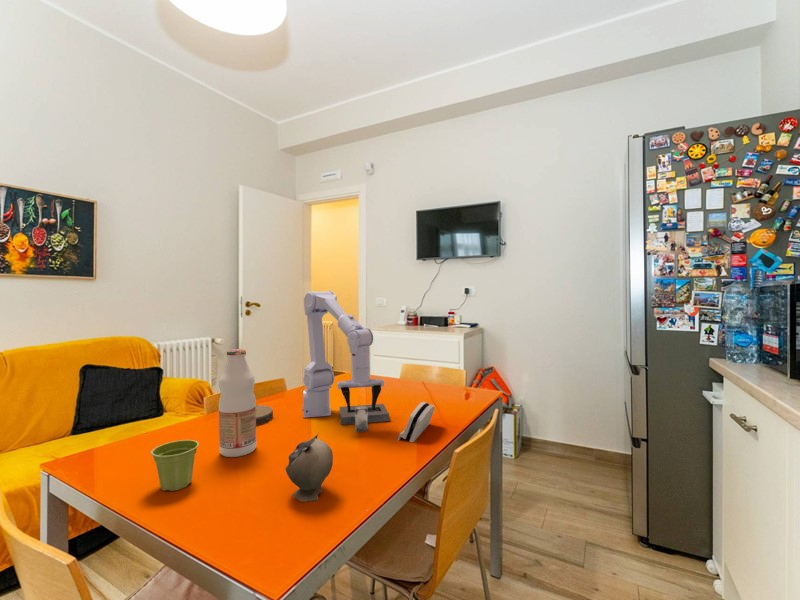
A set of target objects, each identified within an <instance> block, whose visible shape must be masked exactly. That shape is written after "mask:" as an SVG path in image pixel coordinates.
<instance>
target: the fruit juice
mask: <svg viewBox="0 0 800 600" xmlns="http://www.w3.org/2000/svg"><path fill="white" fill-rule="evenodd" d="M246 356H247V349H245V348H234V349H228V350H227V351H226V357H227V362H226V364H225V367H224V369H223V372H222V375H221V376H220V378H219V379H218V388H219V392H220V396H219V400H218V424H219V425H218V434H219V437H218V438H219V453H220V455H221V456H223V457H226V458H236V457H238V458H239V457H242V456H246V455H249V454H251V453H253V452H254V451H255V450H256V447H257V426H256V405H257V404H256V395H255V393H254V387H255V376H254V375H253V373H252V371H251V369H250V367H249V364H248V362H247V360H246Z"/></svg>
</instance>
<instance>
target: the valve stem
mask: <svg viewBox="0 0 800 600" xmlns="http://www.w3.org/2000/svg"><path fill="white" fill-rule="evenodd" d="M358 406H359V405H358ZM368 425H369V423H368V408H367V407H365V406H359V407H356V408H355V424H354V431H355V432H356V433H366V432H367V431H369V426H368Z"/></svg>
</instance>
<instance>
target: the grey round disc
mask: <svg viewBox="0 0 800 600" xmlns="http://www.w3.org/2000/svg"><path fill="white" fill-rule="evenodd" d="M273 410H274V409H273V407H271V406H268V405H263V404H258V405H257V404H256V427H258V426H261V425H264V424H266V423H269V422H270V421H271V420H273V418H274V412H273Z"/></svg>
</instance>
